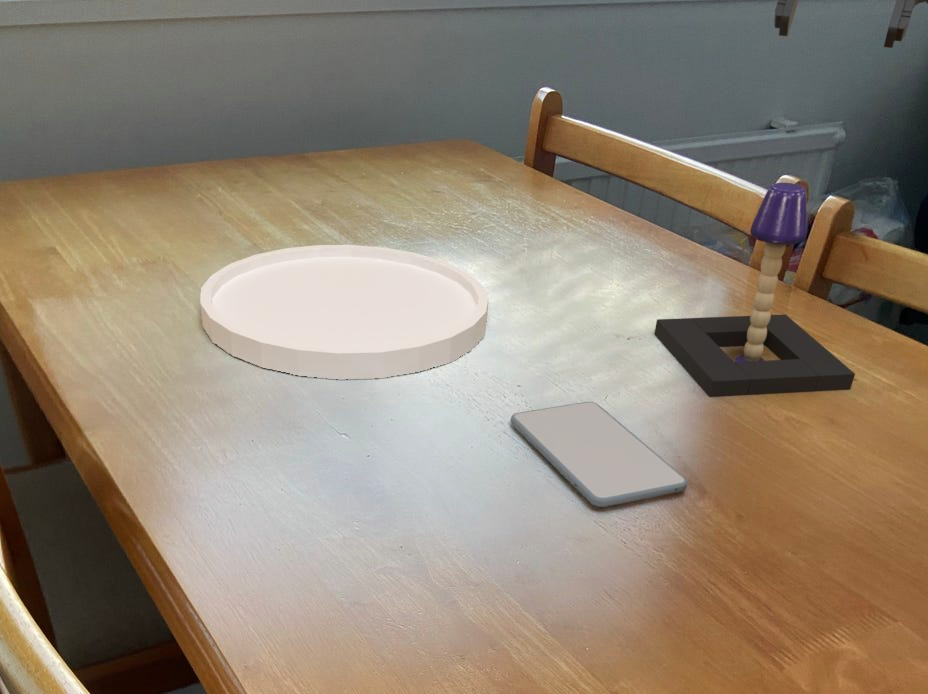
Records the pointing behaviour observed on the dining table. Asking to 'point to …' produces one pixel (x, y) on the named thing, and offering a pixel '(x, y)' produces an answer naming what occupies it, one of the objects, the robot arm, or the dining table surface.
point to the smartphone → (598, 454)
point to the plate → (344, 311)
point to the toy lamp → (773, 254)
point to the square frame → (720, 376)
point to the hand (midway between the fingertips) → (836, 35)
